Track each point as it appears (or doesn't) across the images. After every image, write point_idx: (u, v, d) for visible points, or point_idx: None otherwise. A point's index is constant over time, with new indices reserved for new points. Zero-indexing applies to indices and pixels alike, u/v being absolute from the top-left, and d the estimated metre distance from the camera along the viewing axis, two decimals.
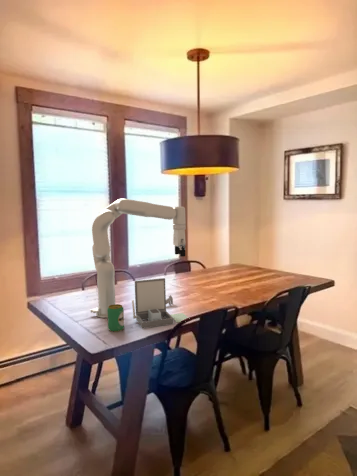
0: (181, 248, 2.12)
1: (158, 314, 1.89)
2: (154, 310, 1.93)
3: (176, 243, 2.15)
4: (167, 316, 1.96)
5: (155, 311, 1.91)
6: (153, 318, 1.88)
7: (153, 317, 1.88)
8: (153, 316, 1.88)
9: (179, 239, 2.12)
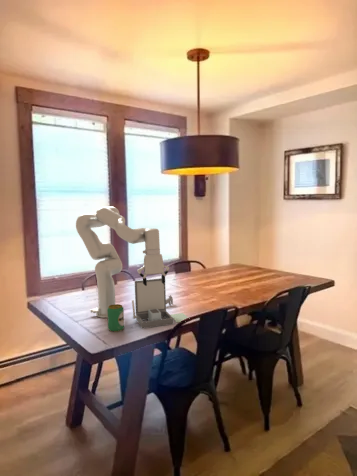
0: (165, 274, 1.91)
1: (158, 314, 1.89)
2: (154, 310, 1.93)
3: (158, 270, 1.88)
4: (167, 316, 1.96)
5: (155, 311, 1.91)
6: (153, 318, 1.88)
7: (153, 317, 1.88)
8: (153, 316, 1.88)
9: None
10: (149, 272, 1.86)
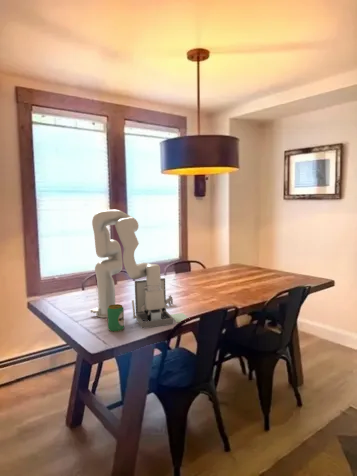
0: (162, 312, 1.92)
1: (158, 314, 1.89)
2: (154, 310, 1.93)
3: (159, 306, 1.90)
4: (167, 316, 1.96)
5: (155, 311, 1.91)
6: (153, 318, 1.88)
7: (153, 317, 1.88)
8: (153, 316, 1.88)
9: None
10: (150, 308, 1.88)
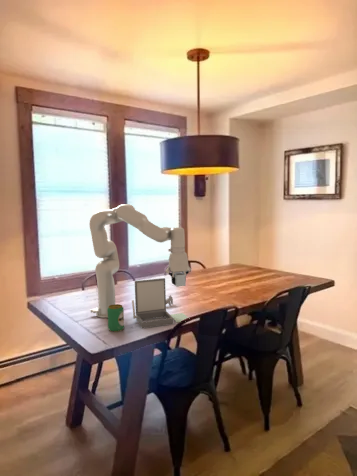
0: (186, 274, 1.96)
1: (182, 276, 1.92)
2: (178, 273, 1.96)
3: (183, 268, 1.93)
4: (167, 316, 1.96)
5: (179, 273, 1.94)
6: (178, 280, 1.91)
7: (178, 279, 1.91)
8: (178, 278, 1.91)
9: (187, 262, 1.95)
10: (174, 270, 1.92)
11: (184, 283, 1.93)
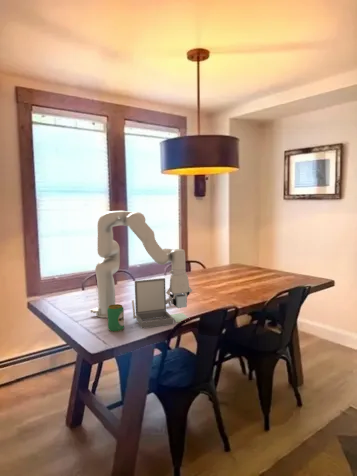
0: (187, 295, 1.97)
1: (183, 297, 1.93)
2: (179, 294, 1.97)
3: (184, 289, 1.94)
4: (167, 316, 1.96)
5: (180, 295, 1.96)
6: (179, 301, 1.93)
7: (179, 300, 1.93)
8: (179, 299, 1.93)
9: (188, 284, 1.96)
10: (175, 291, 1.93)
11: (185, 304, 1.94)
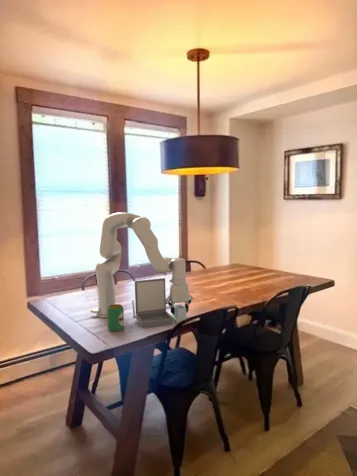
0: (188, 303, 1.98)
1: (183, 309, 1.94)
2: (179, 305, 1.98)
3: (184, 299, 1.95)
4: (167, 316, 1.96)
5: (180, 306, 1.96)
6: (179, 313, 1.93)
7: (179, 312, 1.93)
8: (179, 311, 1.93)
9: (188, 293, 1.97)
10: (175, 301, 1.93)
11: (185, 316, 1.95)
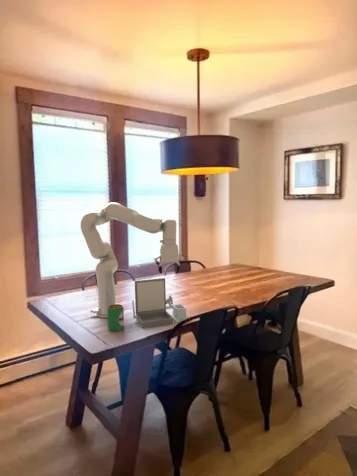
0: (179, 263, 2.01)
1: (183, 309, 1.94)
2: (179, 305, 1.98)
3: (174, 259, 1.98)
4: (167, 316, 1.96)
5: (180, 306, 1.96)
6: (179, 313, 1.93)
7: (179, 312, 1.93)
8: (179, 311, 1.93)
9: (178, 254, 1.99)
10: (165, 261, 1.96)
11: (185, 316, 1.95)
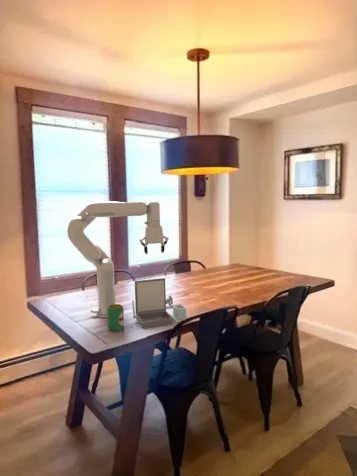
0: (164, 244, 2.09)
1: (183, 309, 1.94)
2: (179, 305, 1.98)
3: (158, 240, 2.06)
4: (167, 316, 1.96)
5: (180, 306, 1.96)
6: (179, 313, 1.93)
7: (179, 312, 1.93)
8: (179, 311, 1.93)
9: None
10: (150, 241, 2.05)
11: (185, 316, 1.95)
